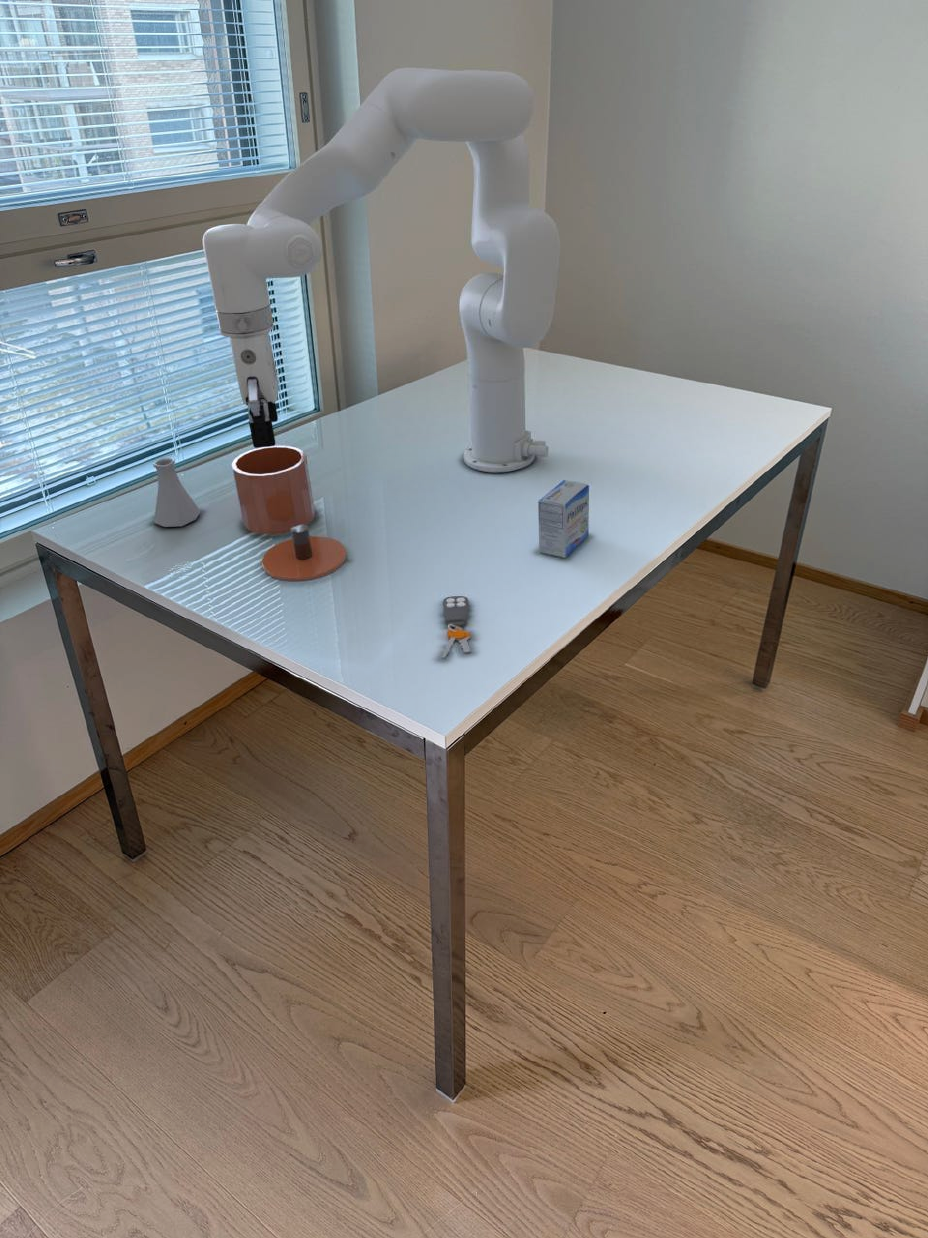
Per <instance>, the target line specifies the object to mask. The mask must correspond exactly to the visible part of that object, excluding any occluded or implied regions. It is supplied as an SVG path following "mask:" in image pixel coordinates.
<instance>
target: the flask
mask: <svg viewBox="0 0 928 1238" xmlns="http://www.w3.org/2000/svg"><path fill="white" fill-rule="evenodd" d="M175 464H176V460H175V458H171V457H162V458H160V459H157V460H155V461H154V462H153V464H152V466H153V468H154V469H155V470H156V474H157V495H156V503H155V510H154V516H153V524H156V525H158V526H160V527H164V528H172V527H184V526H185V525H187V524H189V523H192V522H194V521H196V520H197V519H198V517H199V515H200V513H201V510H200V508H199V507H198V506H197V504H196V502H195V501H194V500H193V498H192V496H190V494H189V493H188V491H187V490H186V488H185V487H184V485H183V484H182V482H181V481H180V478H179V476H178V474H177V471H176V468H175Z"/></svg>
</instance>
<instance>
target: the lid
mask: <svg viewBox="0 0 928 1238" xmlns="http://www.w3.org/2000/svg"><path fill="white" fill-rule="evenodd" d="M310 534H311V533H310V528H309V526H308V524H307V525H304V524H299V525H295V526H293V527H292V528H291V532H290V535H291V539H290V538H289V539H287V540H284V541H281V542H279V543H277V544H275V545H274V546H272V547H271V548H268V550H267V551H266V552H265V553H264V555H263V556H262V558H261V566H262V567H261V568H262V569H263V571H264V573H266V574H267V575H268V576H270V577H271V578H274V579H277V580H281V581H289V582H300V581H301V582H302V581H303V582H304V581H309V580H314V579H318V578H322V577H325V576H327V575H329V574H331V573H333V572H335V571H337V570H338V569H339V568H341V567H342V566H343V564H344V563H345V561H346V559H347V548H346V547H345V545H344V544H343V543H341V542H340V541H338V539H334V538H331V537H326V536H319V535H310Z"/></svg>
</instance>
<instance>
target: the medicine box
mask: <svg viewBox="0 0 928 1238" xmlns="http://www.w3.org/2000/svg"><path fill="white" fill-rule="evenodd" d="M537 511H538V517H537V518H538V519H537V520H538V551H539V553H541V554H546V555H550V556H554V557H558V558H563V559H566V558H567V557H568V556H569V555H570V554H572V552H573V551H574V550H575V549H577V547H578V546H579V545H580V544H582V542H583V541H584V540H585V539H586V538H587V537H589V529H590V525H589V524H590V523H589V522H590V485H589V484H587V483H585V482H584V483H583V482H580V481H574V480H569V479H563V480H562V481H560V482H559V483H558V484H557V485H556V486H554V488H552V489H551V490H550V491H549V492H547V493H546V494H545V495H544V496H542V497H541V498H540V499H539V500H538V502H537Z"/></svg>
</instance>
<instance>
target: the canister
mask: <svg viewBox="0 0 928 1238" xmlns="http://www.w3.org/2000/svg"><path fill="white" fill-rule="evenodd" d="M230 465H231V471H232V476H233V480H234V485H235V490H236V495H237V499H238V504H239V509H240V515H241V521H242V523H243V527H244V528H245V529H247V530H248V531H249V532H252V533H255V534H258V535H281V534H282V535H283V534H287V533H291V528H292V527H293V526H295V525H299V524H304V525H307V526H308V525H309V524H310V523H311V522H312V521H313V520H314V518H315V515H316V509H315V504H314V503H315V502H314V496H313V490H312V484H311V478H310V477H311V476H310V471H309V464H308V458H307V455H306V453H305V451H303V450H302V449H300V448H298V447H295V446H290V445H275V446H270V447H260V448H254V449H250V450H248V451H244V452H242V453H241V454H239V455H238V456H236V457H234V459H233V460H232V462H231V464H230Z"/></svg>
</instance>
